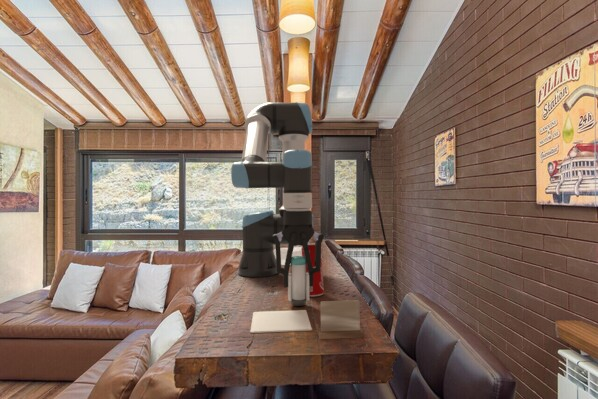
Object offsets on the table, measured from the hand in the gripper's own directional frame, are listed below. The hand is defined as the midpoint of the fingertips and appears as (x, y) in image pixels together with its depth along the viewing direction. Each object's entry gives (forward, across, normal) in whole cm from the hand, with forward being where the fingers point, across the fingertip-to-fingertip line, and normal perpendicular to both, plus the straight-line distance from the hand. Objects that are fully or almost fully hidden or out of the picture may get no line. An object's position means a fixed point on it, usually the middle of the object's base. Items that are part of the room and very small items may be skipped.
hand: (298, 298), depth 86 cm
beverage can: (+2, +5, +10) cm, 11 cm away
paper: (+2, -5, -10) cm, 12 cm away
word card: (+2, +7, -19) cm, 21 cm away
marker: (+1, 0, 0) cm, 1 cm away
